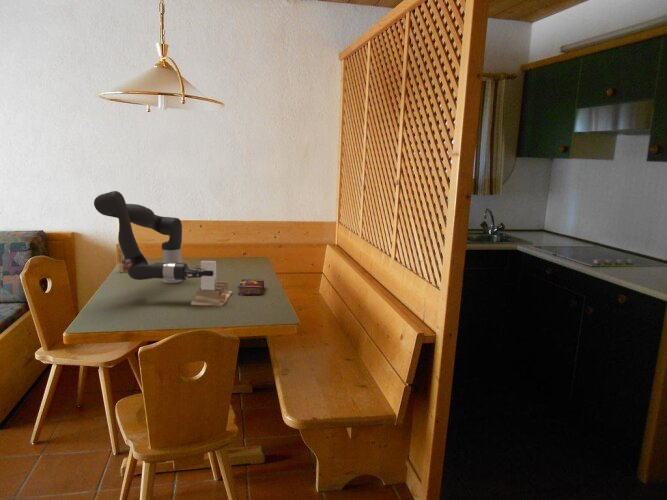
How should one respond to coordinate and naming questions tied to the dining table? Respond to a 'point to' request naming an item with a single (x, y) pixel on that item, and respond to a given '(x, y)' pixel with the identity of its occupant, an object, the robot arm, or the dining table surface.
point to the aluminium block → (208, 281)
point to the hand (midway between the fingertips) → (213, 272)
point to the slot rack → (213, 295)
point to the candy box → (123, 261)
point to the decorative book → (251, 287)
